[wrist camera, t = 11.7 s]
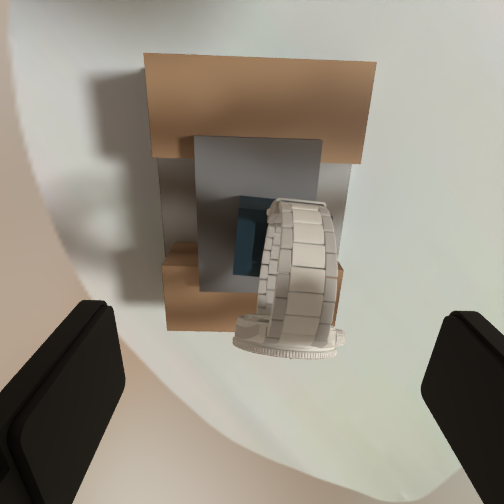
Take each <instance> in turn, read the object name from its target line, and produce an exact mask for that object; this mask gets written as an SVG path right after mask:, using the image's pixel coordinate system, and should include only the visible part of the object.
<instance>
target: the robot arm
mask: <svg viewBox="0 0 504 504" xmlns="http://www.w3.org/2000/svg"><path fill="white" fill-rule="evenodd" d="M124 387H125V373H124V367H123V361H122V356H121V350H120V344H119V339H118V333H117V327H116V322H115V316H114V311H113V308H112V307H111V306H107V303H106V302H105V301H102V300H82V301H81V302H79V304H78V305H77V306H76V307H75V308H74V309H73V310H72V311H71V313H70V314H69V315H68V316H67V317H66V318H65V319H64V320H63V322H62V323H61V324H60V325H59V326H58V327H57V328H56V329H55V331H54V332H53V333H52V334H51V335H50V336H49V337H48V339H47V340H46V341H45V342H44V343H43V344H42V345H41V346H40V348H39V349H38V350H37V351H36V352H35V353H34V355H33V356H32V357H31V358H30V359H29V360H28V361H27V362H26V363H25V365H24V366H23V367H22V368H21V369H20V370H19V372H18V373H17V374H16V375H15V376H14V377H13V378H12V379H11V380H10V382H9V383H8V384H7V385H6V386H5V387H4V388H3V390H2V391H1V392H0V504H72V503H73V501H74V498H75V496H76V494H77V492H78V489H79V487H80V485H81V483H82V481H83V479H84V476H85V474H86V472H87V470H88V467H89V465H90V463H91V461H92V459H93V457H94V454H95V452H96V450H97V448H98V446H99V443H100V441H101V439H102V437H103V435H104V432H105V430H106V428H107V426H108V424H109V421H110V419H111V417H112V415H113V412H114V410H115V408H116V406H117V404H118V402H119V399H120V397H121V395H122V393H123V390H124ZM421 394H422V397H423V399H424V401H425V403H426V405H427V406H428V408H429V410H430V412H431V413H432V415H433V417H434V419H435V420H436V422H437V424H438V425H439V427H440V429H441V431H442V432H443V434H444V436H445V438H446V439H447V441H448V443H449V444H450V446H451V448H452V450H453V451H454V453H455V455H456V457H457V458H458V460H459V462H460V463H461V465H462V467H463V469H464V470H465V472H466V474H467V475H468V477H469V479H470V480H471V482H472V484H473V486H474V488H475V489H476V491H477V493H478V494H479V496H480V498H481V500H482V501H483V503H484V504H504V335H503V334H502V333H501V332H500V331H498V330H497V329H496V328H495V327H494V326H493V325H492V324H491V323H490V322H489V321H488V320H486V319H485V318H484V317H483V316H482V315H481V314H480V313H478V312H475V311H453V312H451V313H450V315H449V316H446V317H445V318H444V320H443V323H442V326H441V329H440V331H439V334H438V337H437V340H436V343H435V346H434V349H433V352H432V355H431V358H430V361H429V364H428V367H427V369H426V372H425V375H424V378H423V381H422V384H421Z"/></svg>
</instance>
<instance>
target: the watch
mask: <svg viewBox="0 0 504 504" xmlns="http://www.w3.org/2000/svg"><path fill="white" fill-rule="evenodd" d="M332 221H333V216H332V215H331V214H330V213H329V211H328V209H327V208H326V203H325V202H317V201H308V200H298V199H288V198H277V199H270V198H261V197H251V196H241V195H240V200H239V210H238V221H237V232H236V243H235V254H234V264H233V275H241V276H253V277H259V279H260V280H259V287H258V300H257V314H245V315H242V316H240V317H238V319H237V321H236V328H235V337H233V345H234V346H236V347H238V348H240V349H243V350H246V351H249V352H253V353H258V354H263V355H269V356H276V357H284V358H290V359H294V358H296V359H324V358H330V357H333V356H335V355H336V354H337V348H336V347H335V346H343V344H344V341H345V334H344V332H343V330H339V329H335V327H334V326H333V325H331V324H332V320H333V314H334V307H335V303H334V302H335V301H336V291H337V279H336V278H327V277H337V276H338V265H337V254H336V240H335V234H334V227H333V223H332ZM325 276H326V277H325ZM262 279H267V280H262ZM266 289H268V290H266ZM296 291H299V292H296ZM307 292H311V293H307ZM319 293H322V294H319ZM262 294H263V295H262ZM265 294H266V295H265Z"/></svg>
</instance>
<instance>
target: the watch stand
mask: <svg viewBox="0 0 504 504" xmlns="http://www.w3.org/2000/svg"><path fill="white" fill-rule="evenodd" d="M376 64H377V62H363V61H338V60H312V59H287V58H262V57H236V56H211V55H185V54H160V53H144V65H145V77H146V88H147V100H148V112H149V123H150V135H151V147H152V157H156V158H158V169H159V182H160V194H161V207H162V220H163V232H164V245H165V257H166V259H165V261H164V263H163V264H162V275H163V287H164V299H165V311H166V322H167V331H213V332H235V328H236V321H237V319H238V317H240V316H242V315H245V314H257V300H258V287H259V280H260V279H259V277H253V276H241V275H233V264H234V254H235V243H236V232H237V221H238V210H239V200H240V195H241V196H251V197H261V198H270V199H277V198H288V199H298V200H308V201H317V202H325V203H326V208H327V209H328V211H329V213H330V214H331V215H332V216H333V221H332V223H333V227H334V234H335V240H336V254H337V259H338V253H339V246H340V239H341V233H342V226H343V219H344V212H345V206H346V199H347V192H348V186H349V179H350V172H351V166H352V164H361V158H362V151H363V145H364V139H365V133H366V126H367V120H368V114H369V108H370V101H371V95H372V89H373V83H374V76H375V70H376ZM337 265H338V276H337V277H327V278H336V279H337V291H336V301H335V302H334V303H335V307H334V314H333V320H332V324H331V325H333V326H334V327H335V321H336V314H337V308H338V302H339V296H340V289H341V283H342V277H343V271H344V270H343V268H342V267H341V265H340V264H339V262H338V260H337ZM325 277H326V276H325ZM262 280H267V279H262ZM266 290H268V289H266ZM296 292H299V291H296ZM307 293H311V292H307ZM319 294H322V293H319ZM262 295H263V294H262ZM265 295H266V294H265Z"/></svg>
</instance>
